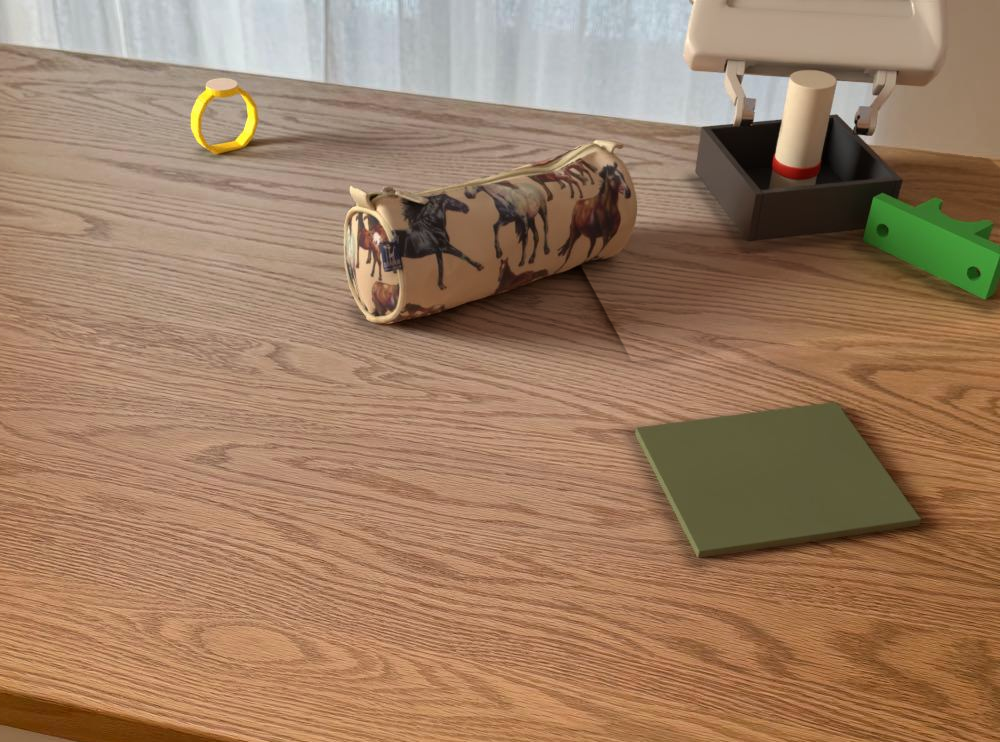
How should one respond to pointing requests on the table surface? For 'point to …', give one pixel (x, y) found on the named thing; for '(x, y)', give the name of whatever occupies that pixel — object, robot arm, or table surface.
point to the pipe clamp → (936, 242)
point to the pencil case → (486, 232)
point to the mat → (773, 479)
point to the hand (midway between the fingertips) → (803, 128)
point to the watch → (223, 90)
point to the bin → (795, 210)
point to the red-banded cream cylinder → (803, 129)
